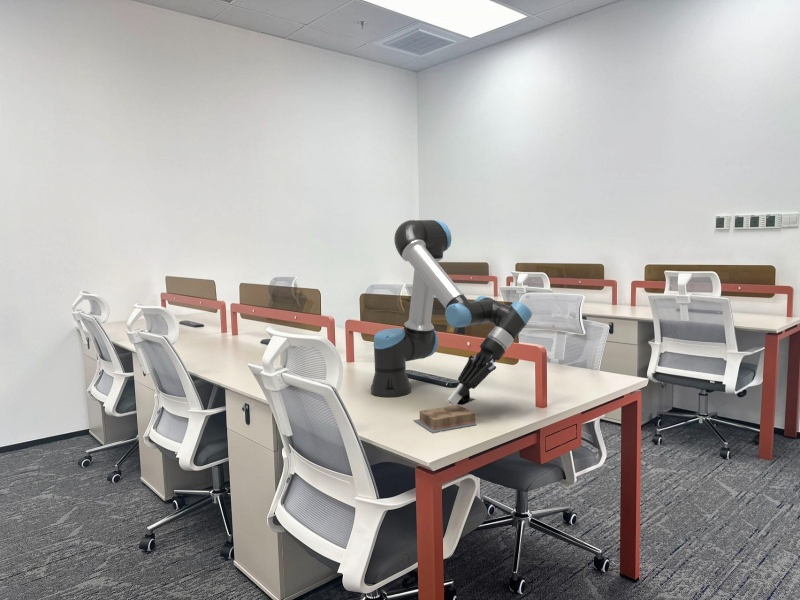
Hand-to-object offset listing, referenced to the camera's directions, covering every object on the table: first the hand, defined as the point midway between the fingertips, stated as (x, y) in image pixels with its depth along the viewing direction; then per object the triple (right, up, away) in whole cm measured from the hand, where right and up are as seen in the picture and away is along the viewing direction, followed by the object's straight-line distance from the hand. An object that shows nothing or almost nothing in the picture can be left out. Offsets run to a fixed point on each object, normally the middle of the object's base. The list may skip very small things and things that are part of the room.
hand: (451, 402), depth 172 cm
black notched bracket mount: (+6, -4, +23) cm, 25 cm away
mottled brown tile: (+5, -4, +3) cm, 7 cm away
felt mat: (-2, -6, 0) cm, 7 cm away
